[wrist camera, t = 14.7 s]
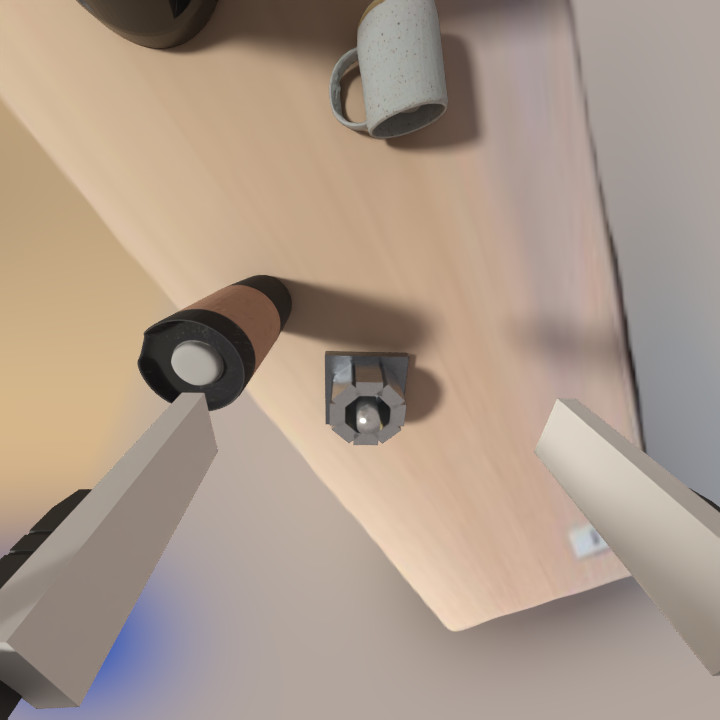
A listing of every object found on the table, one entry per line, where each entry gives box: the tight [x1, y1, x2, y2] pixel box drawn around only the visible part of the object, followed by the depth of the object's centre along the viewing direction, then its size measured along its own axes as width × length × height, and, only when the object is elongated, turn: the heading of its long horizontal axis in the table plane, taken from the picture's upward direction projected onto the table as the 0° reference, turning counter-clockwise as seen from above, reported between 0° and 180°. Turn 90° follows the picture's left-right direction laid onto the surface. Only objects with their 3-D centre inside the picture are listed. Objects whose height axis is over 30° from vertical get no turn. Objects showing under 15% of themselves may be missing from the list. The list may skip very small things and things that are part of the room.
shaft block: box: [325, 351, 409, 435], centre depth 40 cm, size 12×12×10 cm
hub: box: [330, 362, 406, 445], centre depth 40 cm, size 10×10×6 cm
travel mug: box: [138, 275, 292, 411], centre depth 29 cm, size 8×8×20 cm
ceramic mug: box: [329, 0, 448, 139], centre depth 26 cm, size 11×8×8 cm
